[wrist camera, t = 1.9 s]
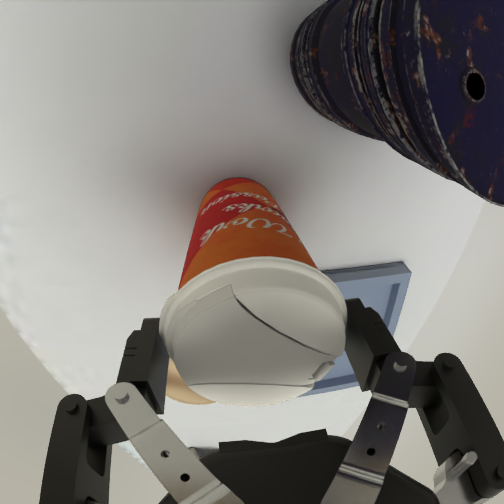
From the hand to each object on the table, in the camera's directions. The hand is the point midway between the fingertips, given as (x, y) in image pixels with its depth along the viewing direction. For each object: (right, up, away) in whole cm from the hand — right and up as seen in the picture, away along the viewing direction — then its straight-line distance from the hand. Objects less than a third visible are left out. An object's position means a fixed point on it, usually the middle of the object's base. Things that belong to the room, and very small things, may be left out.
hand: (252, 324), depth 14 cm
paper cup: (-1, +6, +10) cm, 12 cm away
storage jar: (+7, +16, +5) cm, 19 cm away
